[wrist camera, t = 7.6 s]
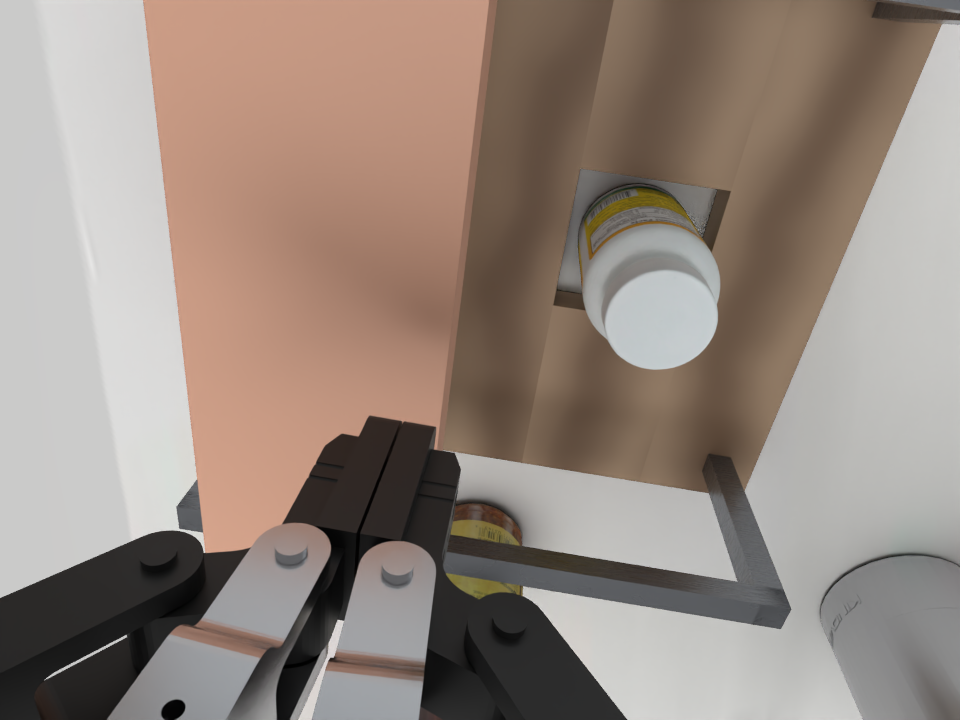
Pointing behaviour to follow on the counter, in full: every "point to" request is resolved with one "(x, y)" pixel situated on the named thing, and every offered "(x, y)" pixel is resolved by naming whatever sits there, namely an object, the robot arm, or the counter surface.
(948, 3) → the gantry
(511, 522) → the sauce bottle
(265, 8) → the sliding cover
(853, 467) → the counter surface
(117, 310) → the counter surface
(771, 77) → the well board
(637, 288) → the supplement bottle
